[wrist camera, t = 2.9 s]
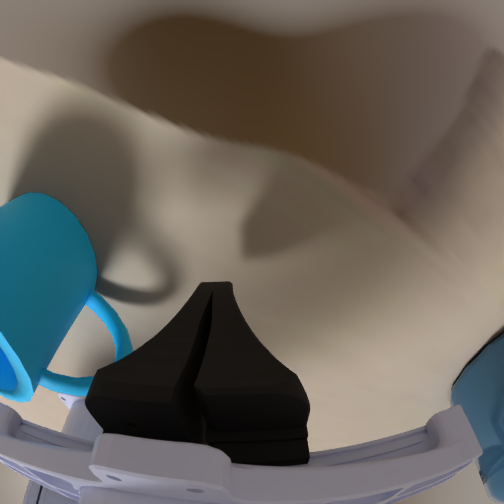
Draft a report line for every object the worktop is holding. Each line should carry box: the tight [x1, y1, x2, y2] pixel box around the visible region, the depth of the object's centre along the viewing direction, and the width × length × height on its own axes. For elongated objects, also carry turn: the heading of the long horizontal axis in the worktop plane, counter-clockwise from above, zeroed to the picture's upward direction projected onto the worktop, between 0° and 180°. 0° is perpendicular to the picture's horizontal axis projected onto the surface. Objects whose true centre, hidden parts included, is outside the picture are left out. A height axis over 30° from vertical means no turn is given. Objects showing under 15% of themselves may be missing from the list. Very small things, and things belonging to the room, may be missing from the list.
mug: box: [0, 193, 133, 402], centre depth 12 cm, size 12×8×8 cm
